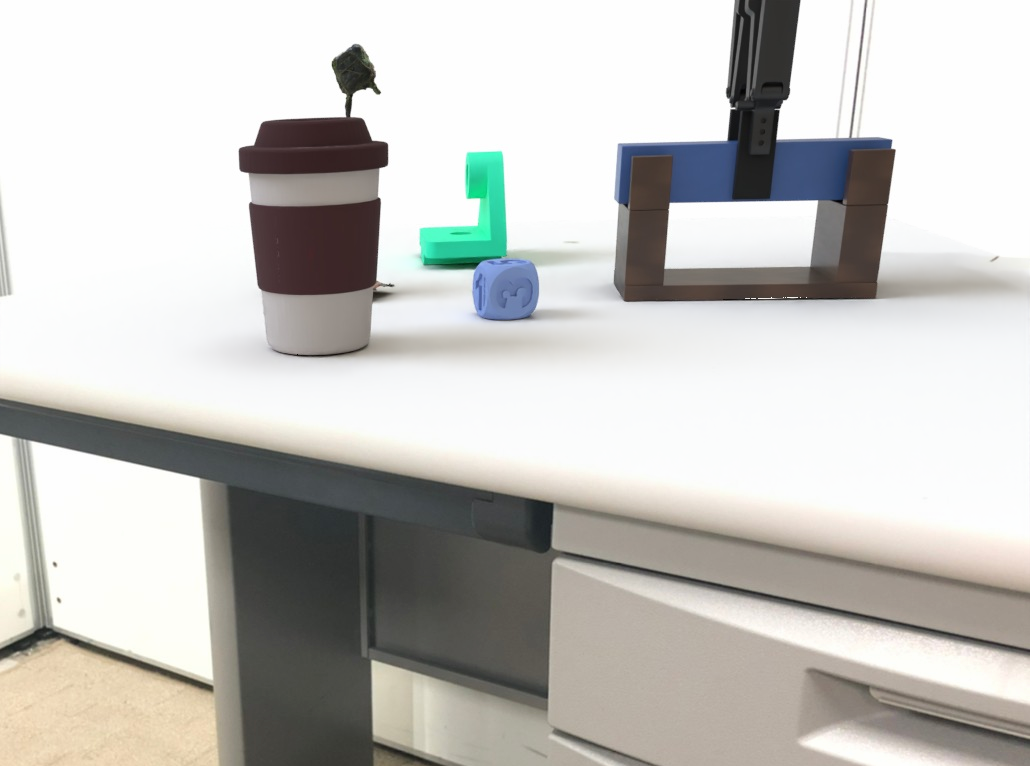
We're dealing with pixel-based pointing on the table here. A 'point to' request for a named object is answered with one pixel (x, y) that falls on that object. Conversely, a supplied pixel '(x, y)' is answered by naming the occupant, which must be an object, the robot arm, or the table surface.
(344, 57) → the plant with pod
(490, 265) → the decorative dice
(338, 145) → the coffee cup
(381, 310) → the table surface
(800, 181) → the rectangular block
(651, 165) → the holder
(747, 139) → the robot arm
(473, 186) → the camera mount
